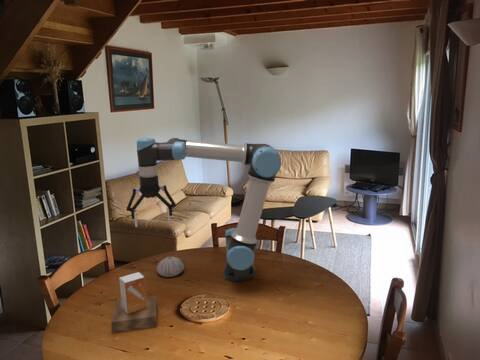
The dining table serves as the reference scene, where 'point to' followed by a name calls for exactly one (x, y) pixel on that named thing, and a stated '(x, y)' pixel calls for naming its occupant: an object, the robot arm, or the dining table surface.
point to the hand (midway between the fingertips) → (152, 224)
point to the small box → (133, 292)
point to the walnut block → (134, 317)
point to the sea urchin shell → (170, 267)
